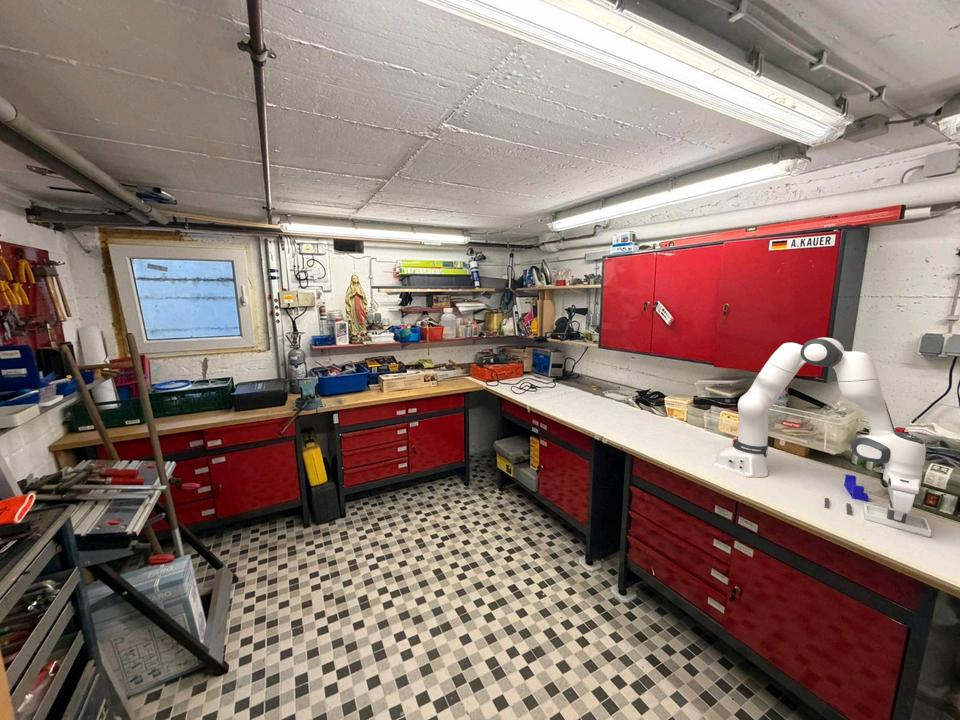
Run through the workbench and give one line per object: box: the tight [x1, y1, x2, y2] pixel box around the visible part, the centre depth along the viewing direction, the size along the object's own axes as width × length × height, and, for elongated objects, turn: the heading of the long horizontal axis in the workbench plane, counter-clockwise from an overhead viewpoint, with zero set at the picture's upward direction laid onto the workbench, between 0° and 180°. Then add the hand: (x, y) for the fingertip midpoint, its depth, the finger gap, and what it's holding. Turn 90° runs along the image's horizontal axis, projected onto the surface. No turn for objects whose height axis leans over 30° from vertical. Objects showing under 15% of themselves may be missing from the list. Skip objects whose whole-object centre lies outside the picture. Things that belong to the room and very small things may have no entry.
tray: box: [862, 502, 932, 539], centre depth 133 cm, size 16×10×2 cm, turn 46°
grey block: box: [887, 499, 907, 524], centre depth 132 cm, size 4×4×7 cm
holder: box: [824, 497, 853, 516], centre depth 142 cm, size 7×8×2 cm
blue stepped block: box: [843, 473, 869, 503], centre depth 152 cm, size 12×4×6 cm, turn 147°
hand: (895, 513), depth 132 cm, fingers open, 8 cm apart
